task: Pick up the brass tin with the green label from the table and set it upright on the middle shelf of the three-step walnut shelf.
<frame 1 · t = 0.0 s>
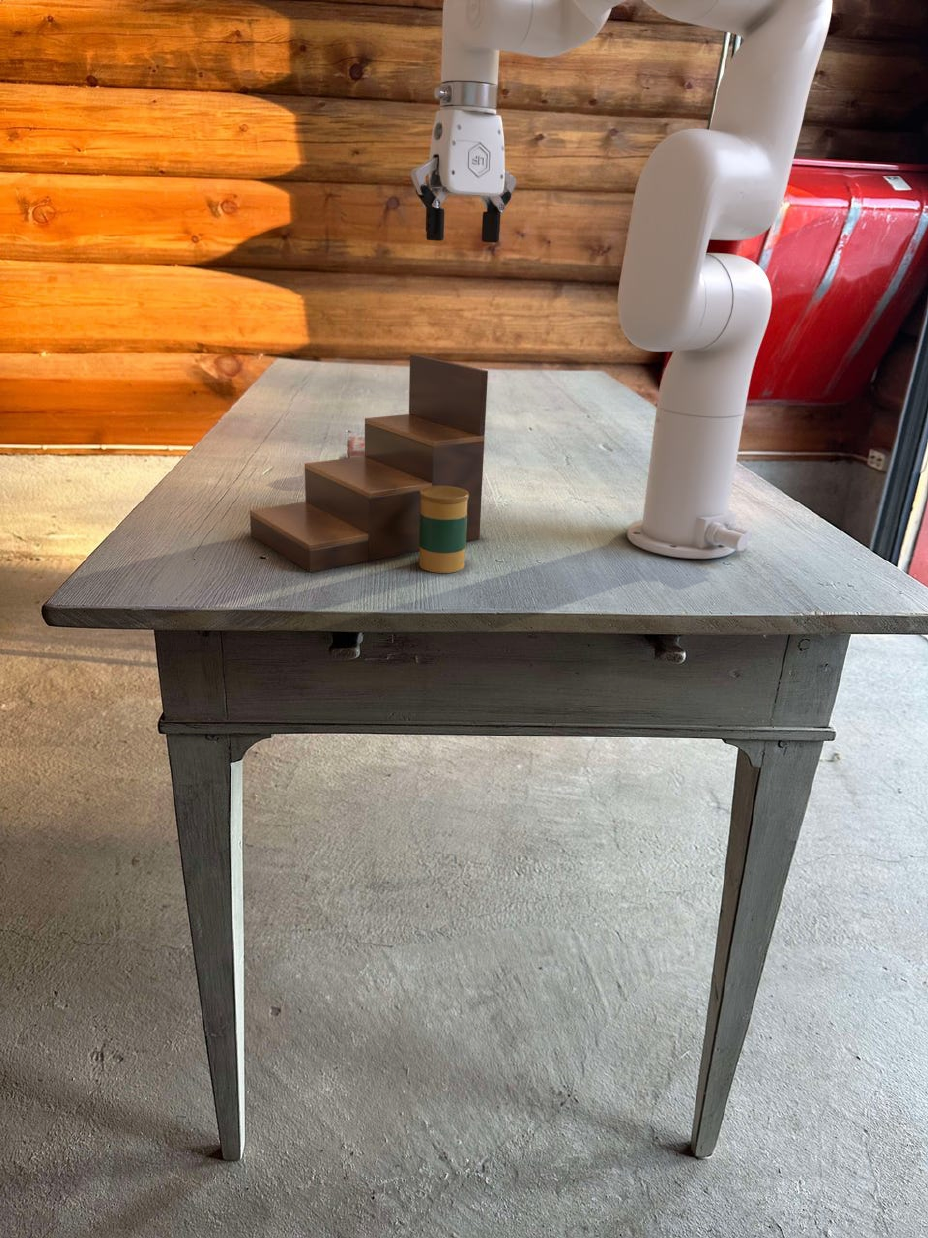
hand: (463, 241, 128), 31 cm above the table, tool pointing down, fingers open, 9 cm apart
packaged product: (399, 475, 131), on the table
tin: (441, 565, 97), on the table
step shelf: (366, 537, 104), on the table
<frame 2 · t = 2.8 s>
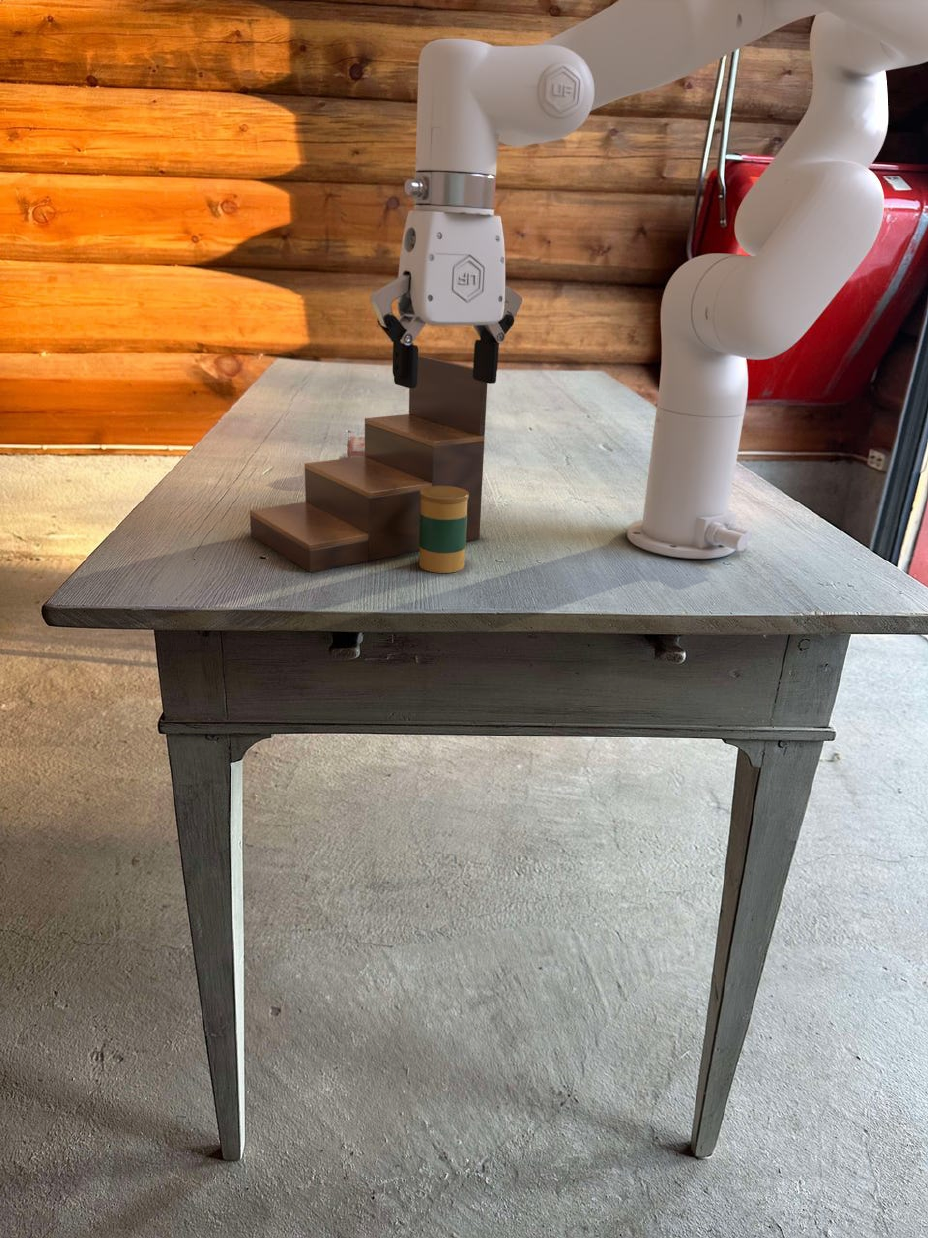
hand: (445, 383, 92), 19 cm above the table, tool pointing down, fingers open, 9 cm apart
nothing on the table moved.
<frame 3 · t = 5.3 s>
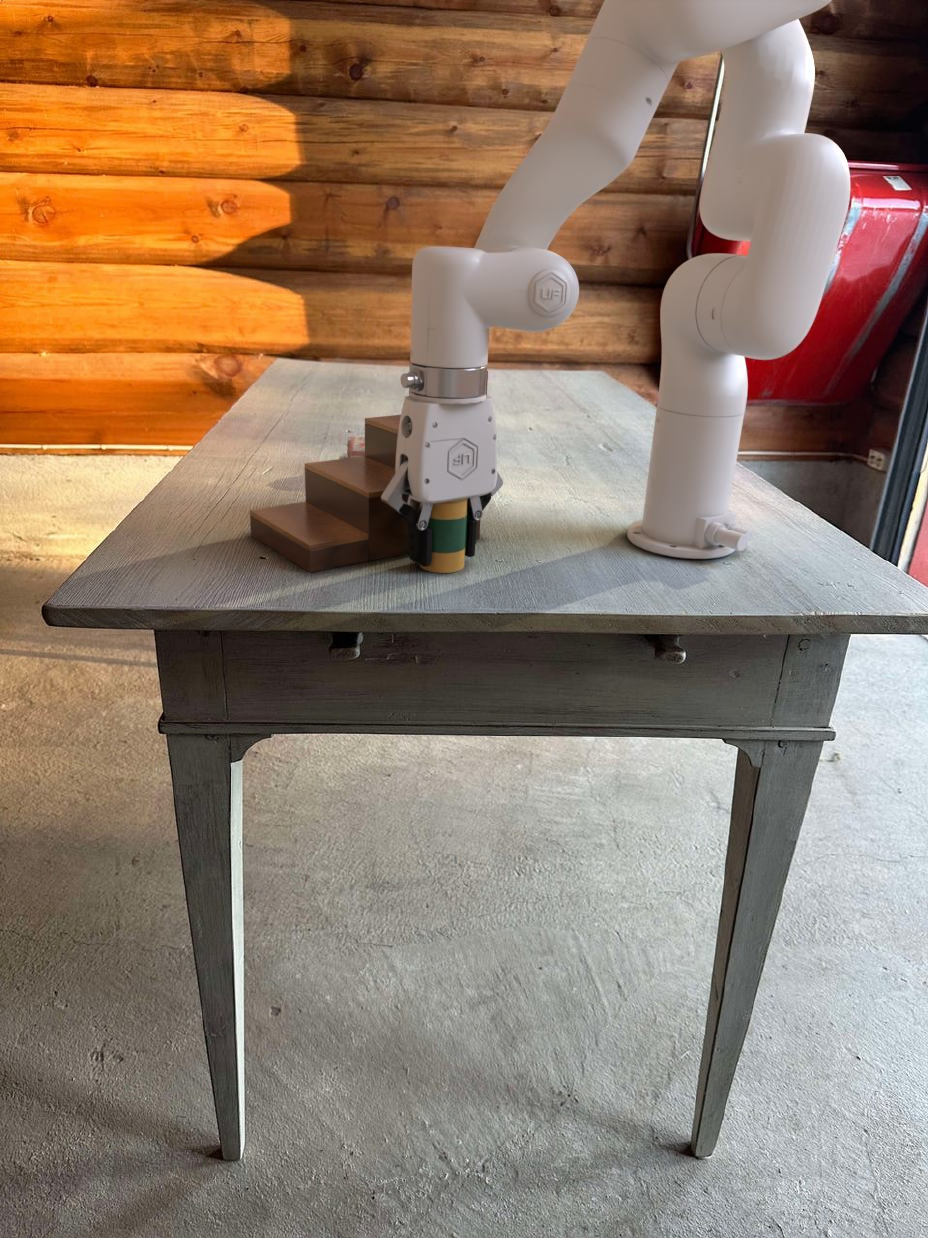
hand: (442, 556, 96), 1 cm above the table, tool pointing down, fingers closed on tin, 5 cm apart
tin: (441, 565, 97), on the table, touching gripper
everything else where it was.
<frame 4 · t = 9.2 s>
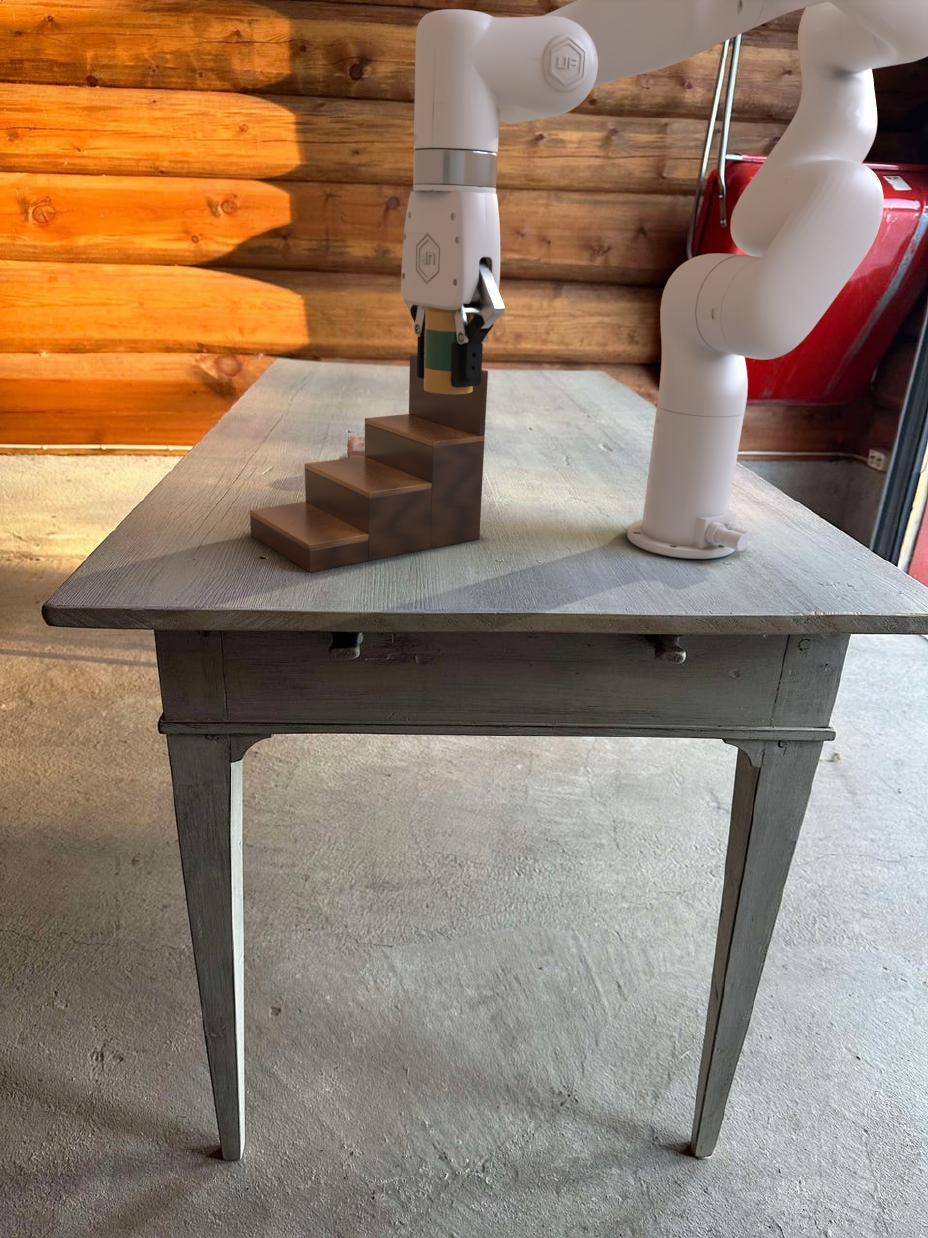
hand: (448, 379, 89), 19 cm above the table, tool pointing down, fingers closed on tin, 5 cm apart
tin: (448, 390, 90), point 18 cm above the table, touching gripper
everything else where it was.
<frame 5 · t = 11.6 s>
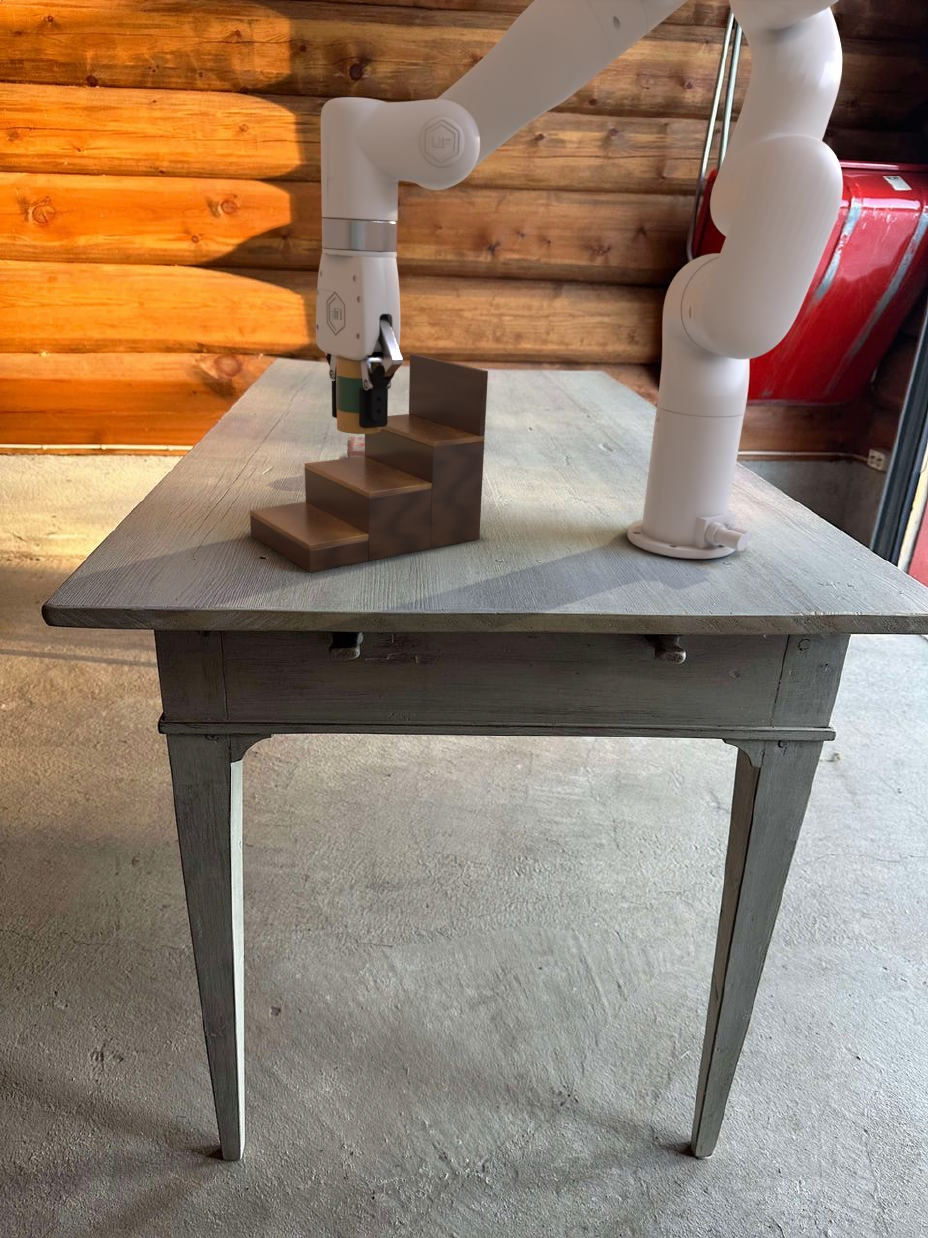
hand: (359, 420, 98), 13 cm above the table, tool pointing down, fingers closed on tin, 5 cm apart
tin: (359, 429, 99), point 12 cm above the table, touching gripper
everything else where it was.
when the fingers open (9 cm above the table, at t = 13.2 s): tin stays where it is, resting on step shelf.
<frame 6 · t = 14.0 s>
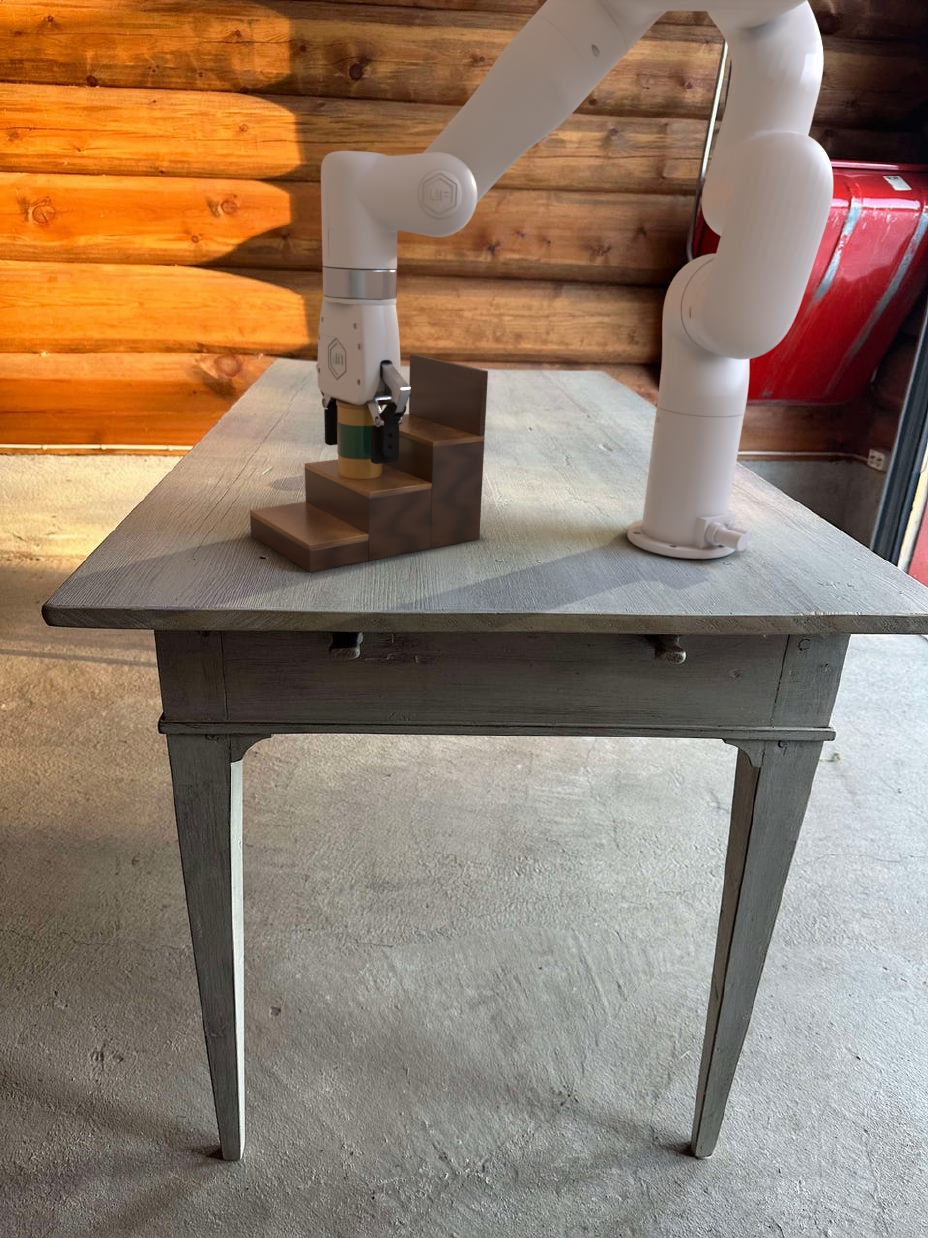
hand: (360, 452, 100), 10 cm above the table, tool pointing down, fingers open, 9 cm apart
tin: (360, 473, 101), point 7 cm above the table, touching step shelf
everything else where it was.
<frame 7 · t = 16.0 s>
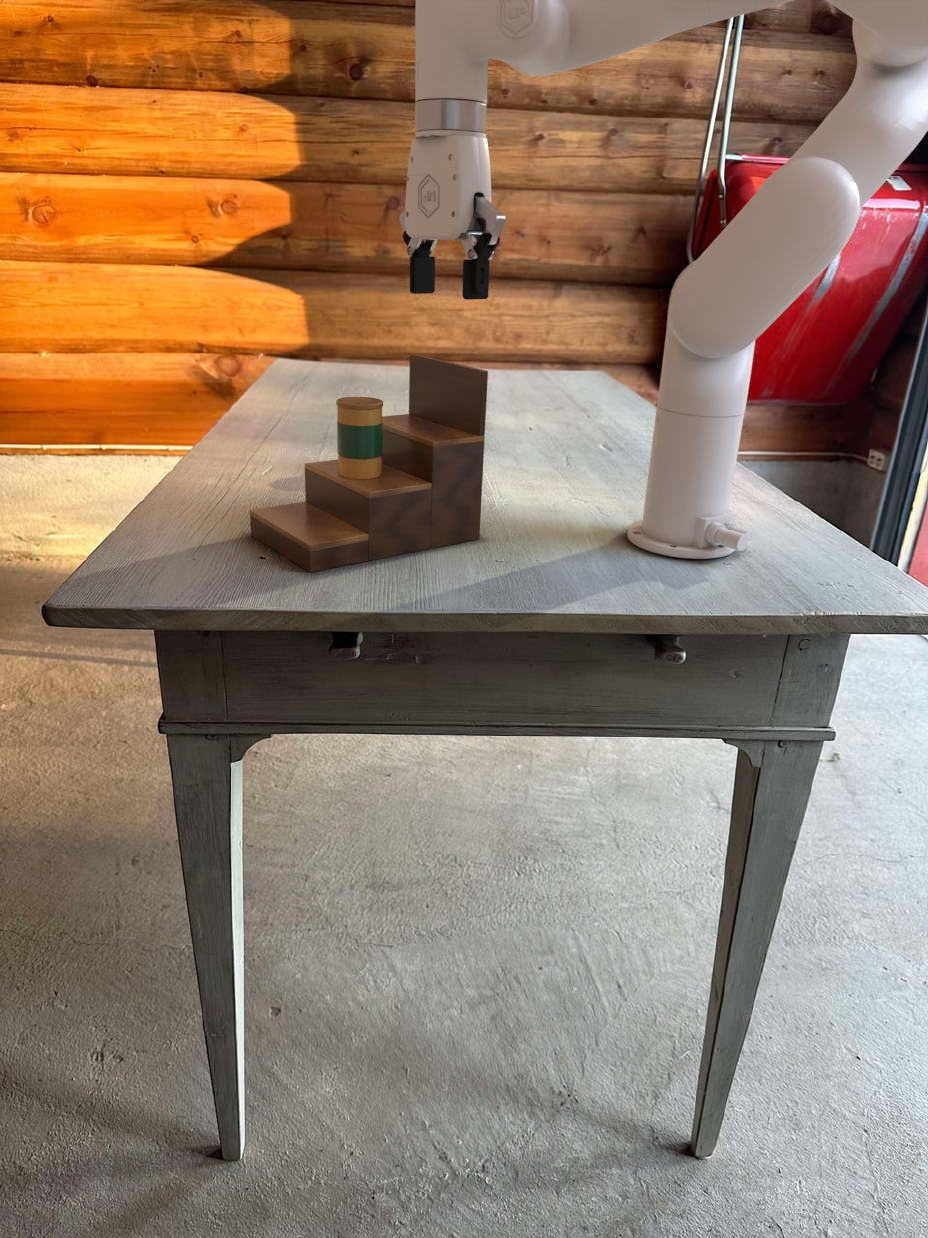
hand: (448, 295, 103), 26 cm above the table, tool pointing down, fingers open, 9 cm apart
nothing on the table moved.
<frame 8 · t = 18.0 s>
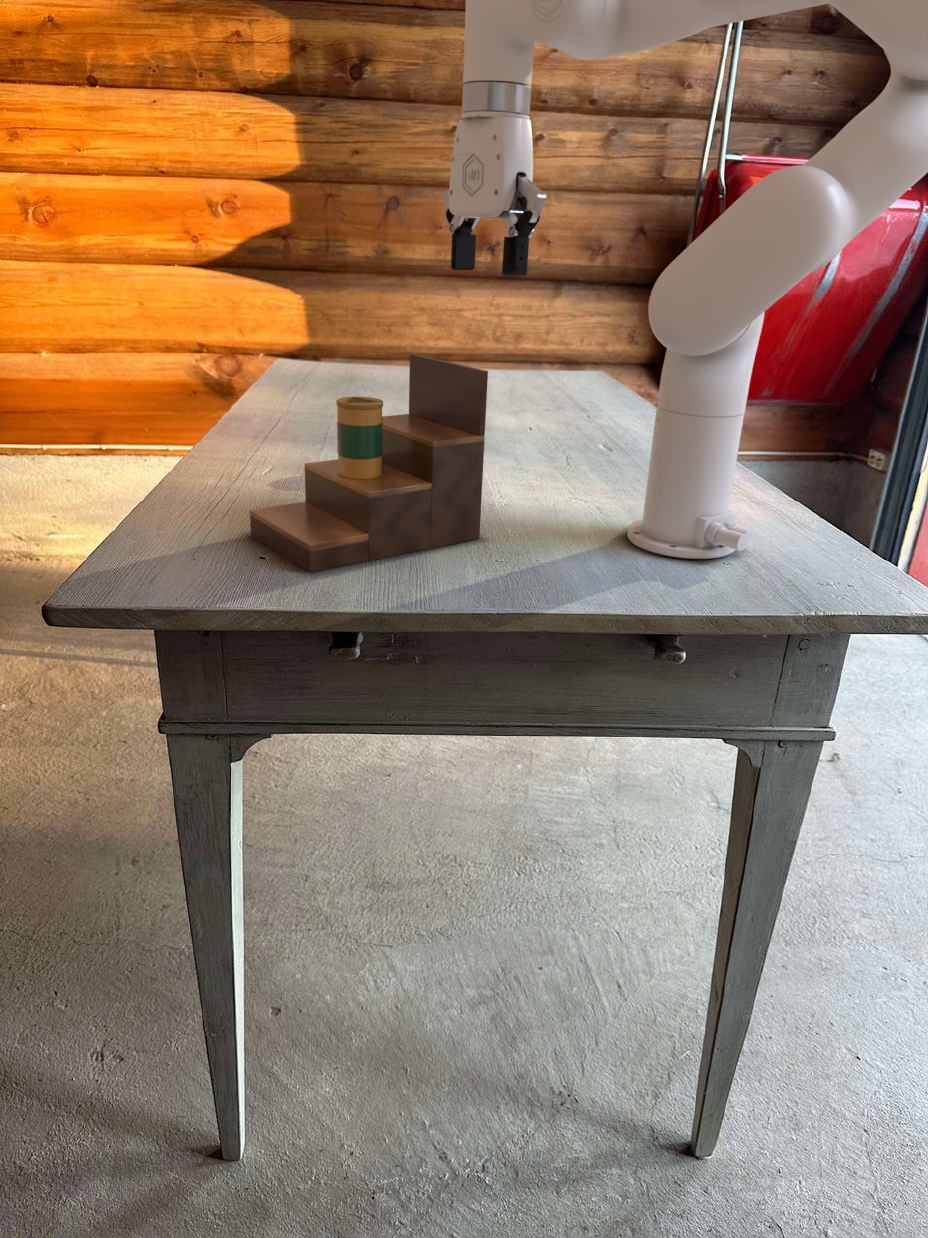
hand: (487, 272, 107), 28 cm above the table, tool pointing down, fingers open, 9 cm apart
nothing on the table moved.
at the end: tin inside the target area on the step shelf (0.8 cm from its centre), point 7.5 cm above the step shelf's base; tin tilted 0°; the gripper is holding nothing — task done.
